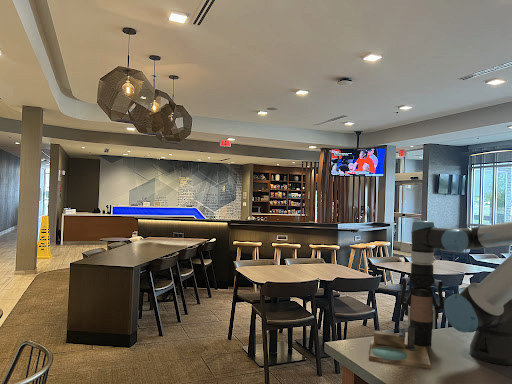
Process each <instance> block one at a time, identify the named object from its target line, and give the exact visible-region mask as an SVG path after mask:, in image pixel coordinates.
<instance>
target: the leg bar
mask: <svg viewBox="0 0 512 384" xmlns="http://www.w3.org/2000/svg"><path fill="white" fill-rule="evenodd" d="M373 340H374V343H376V344H383V345H390V346H397V347H403V348H405V344H406V332H402V331H399V333H398V332H397V333H396V332H388V331H381V330H374V333H373Z"/></svg>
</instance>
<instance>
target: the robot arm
mask: <svg viewBox="0 0 512 384" xmlns="http://www.w3.org/2000/svg"><path fill="white" fill-rule="evenodd" d="M511 245H512V220H511V221H505V222H499V223H493V224H488V225H487V224H486V225H481V226H474V227H465V228H462V227H461V228H460V227H459V228H452V227H451V228H448V227H447V228H446V227H445V228H444V227H435V223H434V221H432V220H431V221H430V220H414V221H413V222H412V225H411V252H410V253H411V256H410V257H411V258H410V261H411V262H412V263H410V275H409V277H404V276H403V277H402V278H401V279H402V280H401V282H402V286H401V292H400V298H399V305H400V306H403V307H404V312H403V313H404V316H405V317H407V326H408V327H410V302H411V295H412V294H411V290H410V292H409V294H408V296H407V297H406V299H405V295H406V291H407V290H406V289H407V284H409V282H410V283H411V284H412V286H411V287H412V288H414V289H424V290H431V288H432V287H431V286H432V285H433V284H435V286H436V289H437V296H438V304H437V300H436V298H435V297H434V295H433V296H432V302H433V323H432V330H435V329H436V320H439V311H440V310H444V316H445V318H446V320H447V322H448V323H449V325H450V326H451V327H452V328H453V329H454V330H457V331H458V332H461V333H474V334H473V338H472V339H471V343H470V344H469V353H470V354H471V356H473V357H474V358H476V359H479V360H482V361H484V362H487V363H492V364H496V365H499V366H500V365H501V366H512V254H510V255H509V256H508V257H507V258H506V259H505V260H503V262H502V263H500V264H499V265H497V266H496V268H495V269H494V270H492V271H491V272H490V273H489V274H488V275H487V276H486V277H484V278H483V279H482V280H481V281H480V282H471V283H470V284H469V285H467V286H466V287H465V288H464V289H463V290H462V291H461V292H460V293H453V294H451V295H450V296H448V297H447V298H446V299H445V301H444V295H443V289H442V288H443V284H444V283H443V281H442V280H438V279H435V277H434V265H433V264H434V262H435V261H434V258H435V257H434V256H435V255H434V251H435V250H434V249H436V250H441V251H448V252H453V253H454V252H458V253H462V252H464V250H481V249H487V248H493V247H494V248H495V247H502V246H504V247H505V246H511ZM404 300H405V301H404Z"/></svg>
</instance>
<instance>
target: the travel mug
mask: <svg viewBox="0 0 512 384" xmlns="http://www.w3.org/2000/svg"><path fill="white" fill-rule="evenodd" d="M412 287H413V286H411V287H410V291H411V294H412V295H411V302H410V304H409V306H410V326H409V327H413V328H415V341H414V345H415V346H423V347H426V348H427V347H431V346H432V339H433V338H432V337H433V328H432V323H433V309H434V305H433V302H432V296H434V294H433V293H434V291H433V288H432V287H430V288H431V290H424V289H414V288H412Z"/></svg>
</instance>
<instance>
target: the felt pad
mask: <svg viewBox="0 0 512 384" xmlns="http://www.w3.org/2000/svg"><path fill="white" fill-rule="evenodd" d="M372 353H373V354H375V355H376V356H378V357H381V358H383V359H387V360H403V359H405V358H407V354H406V353H405V352H403V351H402V350H399V349H396V348H391V347H376V348H374V349H372Z"/></svg>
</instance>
